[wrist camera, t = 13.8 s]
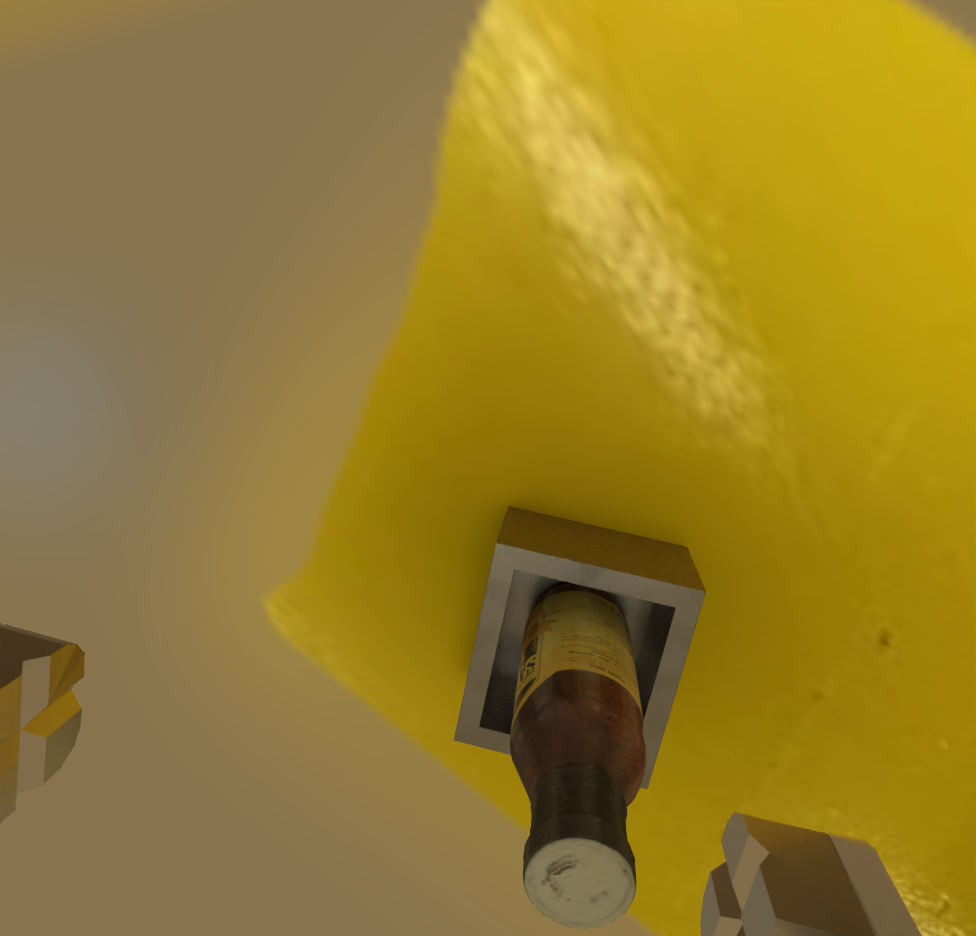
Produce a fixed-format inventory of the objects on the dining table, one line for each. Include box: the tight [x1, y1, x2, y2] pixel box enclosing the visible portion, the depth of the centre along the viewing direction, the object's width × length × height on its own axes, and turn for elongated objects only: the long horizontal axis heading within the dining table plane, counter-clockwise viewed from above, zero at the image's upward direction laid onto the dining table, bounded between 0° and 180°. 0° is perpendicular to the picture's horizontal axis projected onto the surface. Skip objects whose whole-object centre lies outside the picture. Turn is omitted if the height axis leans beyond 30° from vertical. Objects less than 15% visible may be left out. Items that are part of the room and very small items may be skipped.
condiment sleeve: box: [454, 507, 706, 789], centre depth 43 cm, size 11×12×7 cm
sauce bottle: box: [510, 583, 646, 929], centre depth 35 cm, size 6×6×20 cm
